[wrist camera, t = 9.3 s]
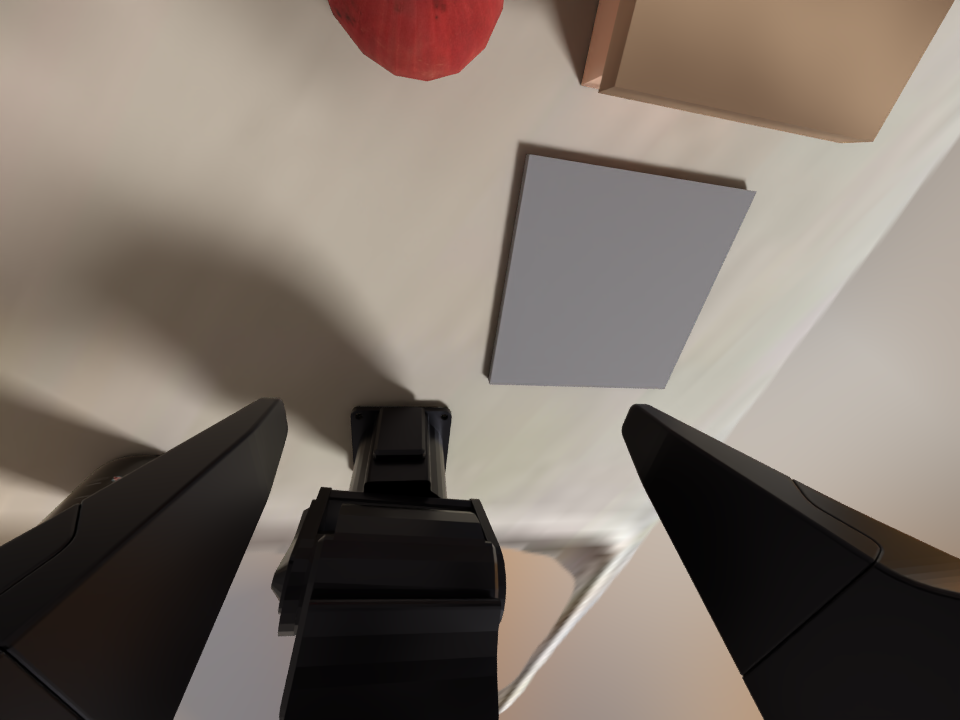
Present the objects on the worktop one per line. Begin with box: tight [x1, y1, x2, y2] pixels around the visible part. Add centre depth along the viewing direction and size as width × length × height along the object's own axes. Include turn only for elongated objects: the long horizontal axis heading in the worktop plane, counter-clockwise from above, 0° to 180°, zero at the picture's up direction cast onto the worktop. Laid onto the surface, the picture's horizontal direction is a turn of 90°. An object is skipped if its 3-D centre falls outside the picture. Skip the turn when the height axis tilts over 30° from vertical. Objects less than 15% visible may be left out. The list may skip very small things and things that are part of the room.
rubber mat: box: [488, 154, 756, 389], centre depth 21 cm, size 13×13×1 cm
